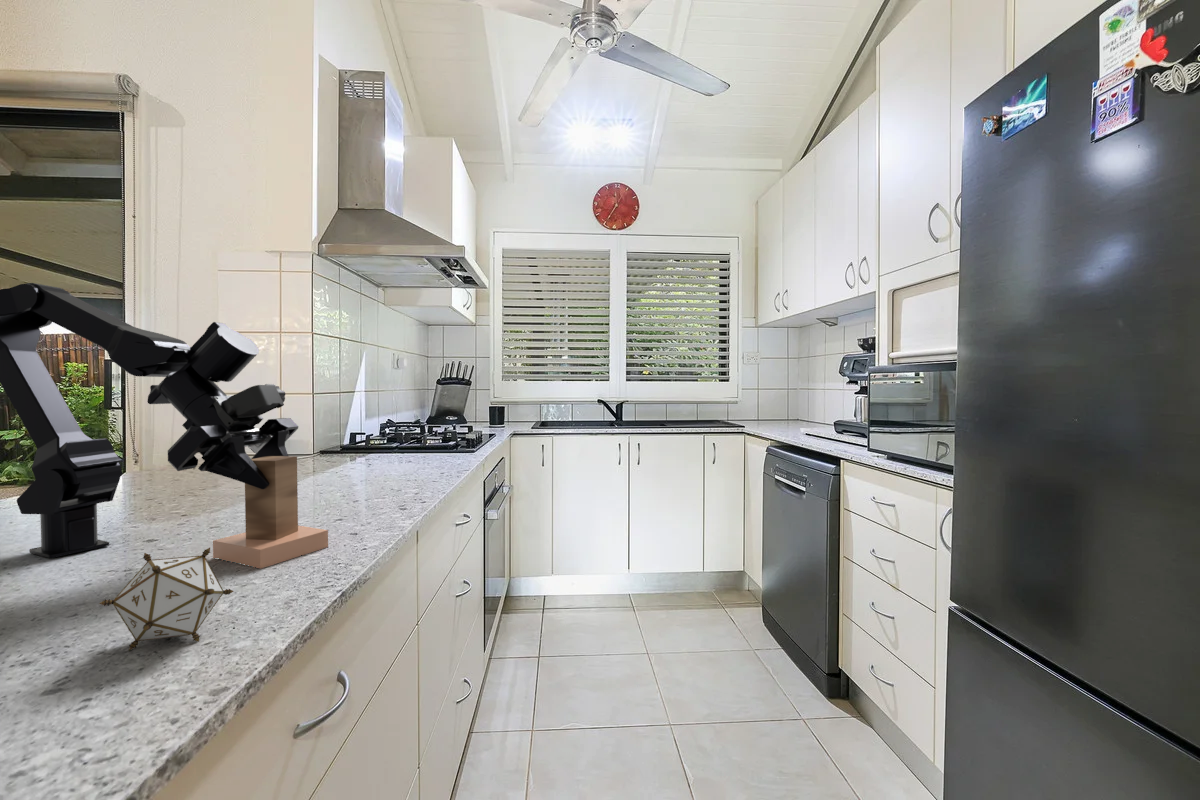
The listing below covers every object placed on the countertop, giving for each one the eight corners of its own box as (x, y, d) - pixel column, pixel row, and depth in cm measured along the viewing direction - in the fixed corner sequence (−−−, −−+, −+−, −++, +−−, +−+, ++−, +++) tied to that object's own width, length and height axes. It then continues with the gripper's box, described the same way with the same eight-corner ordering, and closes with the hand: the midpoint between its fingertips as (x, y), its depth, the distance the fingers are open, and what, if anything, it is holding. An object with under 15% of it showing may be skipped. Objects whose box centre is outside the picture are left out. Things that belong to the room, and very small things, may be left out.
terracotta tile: (213, 558, 71) (212, 540, 71) (282, 538, 81) (282, 522, 80) (260, 568, 67) (260, 549, 67) (328, 546, 77) (328, 530, 76)
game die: (174, 686, 47) (137, 630, 41) (105, 645, 49) (59, 585, 43) (259, 606, 54) (238, 548, 48) (196, 571, 56) (168, 511, 50)
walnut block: (245, 539, 72) (244, 460, 72) (269, 530, 76) (268, 456, 76) (276, 540, 71) (275, 460, 71) (298, 531, 76) (296, 456, 76)
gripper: (187, 361, 64) (275, 451, 64) (285, 367, 83) (353, 436, 83) (128, 424, 65) (214, 513, 64) (238, 416, 83) (306, 485, 83)
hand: (281, 482), depth 74 cm, fingers open, 6 cm apart
